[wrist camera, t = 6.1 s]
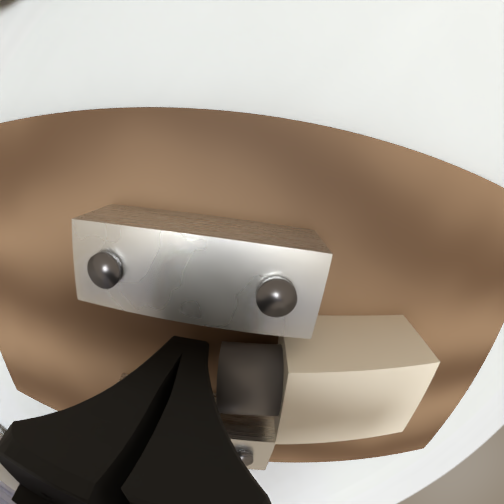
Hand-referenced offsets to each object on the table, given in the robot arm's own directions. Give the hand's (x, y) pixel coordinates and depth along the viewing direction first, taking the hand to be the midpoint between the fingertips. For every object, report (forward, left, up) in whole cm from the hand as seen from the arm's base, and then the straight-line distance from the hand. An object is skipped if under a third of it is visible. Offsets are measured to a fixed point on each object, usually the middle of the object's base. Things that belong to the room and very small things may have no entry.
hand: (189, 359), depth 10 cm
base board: (0, -1, -2) cm, 2 cm away
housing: (0, 0, -1) cm, 1 cm away
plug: (0, -6, -1) cm, 6 cm away
